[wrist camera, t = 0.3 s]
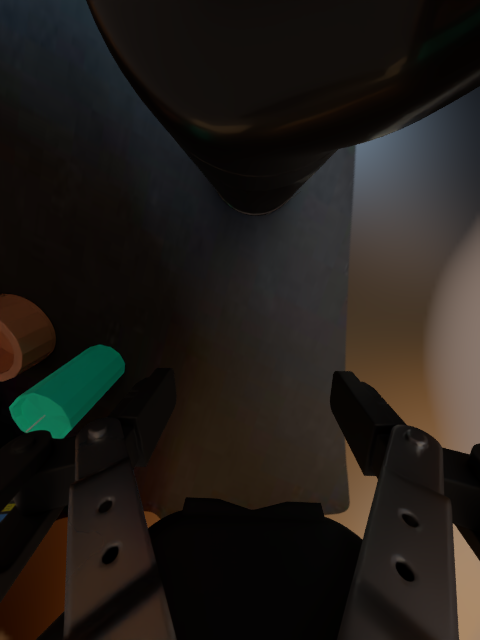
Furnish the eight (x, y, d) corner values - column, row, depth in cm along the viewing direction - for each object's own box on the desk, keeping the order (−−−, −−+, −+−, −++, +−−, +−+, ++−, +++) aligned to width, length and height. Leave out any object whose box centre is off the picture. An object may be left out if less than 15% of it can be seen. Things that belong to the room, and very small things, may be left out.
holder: (-30, 293, 30) (-83, 304, 25) (43, 294, 29) (3, 306, 24) (-1, 359, 33) (-43, 379, 28) (64, 361, 33) (33, 383, 28)
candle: (79, 369, 33) (-10, 438, 22) (90, 337, 31) (-2, 395, 20) (118, 386, 34) (51, 463, 23) (131, 356, 32) (64, 424, 21)
